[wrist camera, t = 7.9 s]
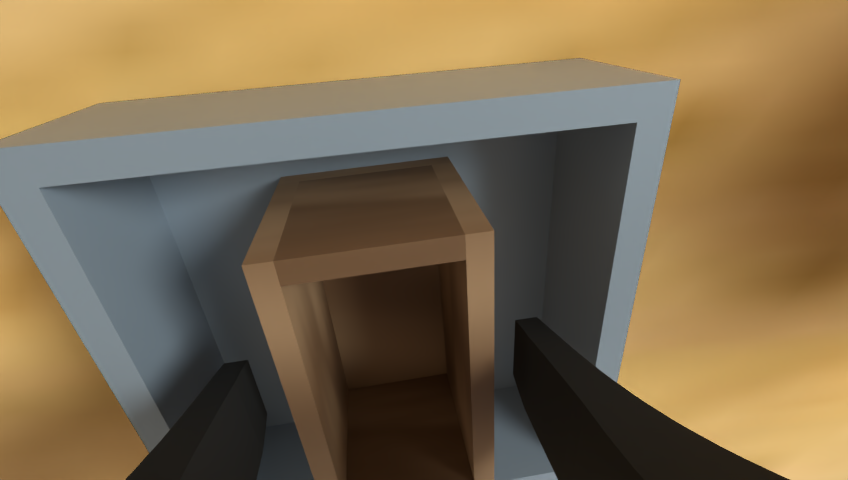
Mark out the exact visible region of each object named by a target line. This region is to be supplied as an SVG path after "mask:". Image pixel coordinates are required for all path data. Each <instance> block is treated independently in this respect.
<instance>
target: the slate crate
mask: <svg viewBox="0 0 848 480" xmlns="http://www.w3.org/2000/svg"><path fill="white" fill-rule="evenodd" d="M679 84H680V79H676V78H671V77H667V76H662V75H657V74H653V73H648V72H643V71H639V70H634V69H629V68H625V67H620V66H615V65H611V64H606V63H601V62H597V61H592V60H587V59H583V58H576V59H565V60H554V61H544V62H533V63H522V64H512V65H501V66H490V67H480V68H469V69H458V70H448V71H437V72H426V73H416V74H405V75H394V76H384V77H373V78H362V79H352V80H341V81H330V82H320V83H309V84H298V85H288V86H277V87H266V88H256V89H245V90H235V91H224V92H213V93H203V94H192V95H181V96H171V97H160V98H149V99H139V100H128V101H117V102H107V103H99V104H96V105H93V106H91V107H88V108H85V109H82V110H80V111H77V112H74V113H71V114H69V115H66V116H63V117H60V118H58V119H55V120H52V121H50V122H47V123H44V124H41V125H39V126H36V127H33V128H30V129H28V130H25V131H22V132H19V133H17V134H14V135H11V136H8V137H6V138H3V139H0V206H1V207H2V209H3V211H4V212H5V214H6V216H7V217H8V219H9V220H10V222H11V224H12V225H13V227H14V229H15V230H16V232H17V234H18V235H19V237H20V239H21V240H22V242H23V244H24V245H25V247H26V249H27V250H28V252H29V254H30V255H31V257H32V259H33V260H34V262H35V264H36V265H37V267H38V269H39V270H40V272H41V274H42V275H43V277H44V279H45V280H46V282H47V284H48V285H49V287H50V289H51V290H52V292H53V294H54V295H55V297H56V299H57V300H58V302H59V304H60V305H61V307H62V309H63V310H64V312H65V314H66V315H67V317H68V319H69V320H70V322H71V324H72V325H73V327H74V329H75V330H76V332H77V334H78V335H79V337H80V339H81V340H82V342H83V344H84V345H85V347H86V349H87V350H88V352H89V353H90V355H91V357H92V358H93V360H94V362H95V363H96V365H97V367H98V368H99V370H100V372H101V373H102V375H103V377H104V378H105V380H106V382H107V383H108V385H109V387H110V388H111V390H112V392H113V393H114V395H115V397H116V398H117V400H118V402H119V403H120V405H121V407H122V408H123V410H124V412H125V413H126V415H127V417H128V418H129V420H130V422H131V423H132V425H133V427H134V428H135V430H136V432H137V433H138V435H139V437H140V438H141V440H142V442H143V443H144V445H145V447H146V448H147V450H148V452H149V453H150V452H151V451H152V450H153V449H154V448H155V446H156V445H157V444H158V443H159V442H160V441H161V440H162V438H163V437H164V436H165V435H166V434H167V433H168V431H169V430H170V429H171V428H172V427H173V425H174V424H175V423H176V422H177V421H178V419H179V418H180V417H181V416H182V415H183V413H184V412H185V411H186V410H187V408H188V407H189V406H190V405H191V403H192V402H193V401H194V400H195V398H196V397H197V396H198V395H199V394H200V392H201V391H202V390H203V388H204V387H205V386H206V385H207V383H208V382H209V381H210V380H211V378H212V377H213V376H214V375H215V374H216V372H217V371H218V370H219V369H220V368H221V366H222V365H223V364H224V363H230V362H237V361H243V360H248V362H249V364H250V367H251V370H252V373H253V375H254V378H255V381H256V384H257V387H258V389H259V392H260V395H261V398H262V400H263V403H264V406H265V409H266V411H267V421H266V430H265V439H264V447H263V454H262V458H261V463H260V467H259V471H258V475H257V479H256V480H314V478H313V475H312V472H311V469H310V466H309V463H308V460H307V457H306V454H305V451H304V448H303V445H302V443H301V440H300V437H299V434H298V431H297V428H296V425H295V422H294V419H293V416H292V413H291V410H290V407H289V404H288V401H287V398H286V396H285V393H284V390H283V387H282V384H281V381H280V378H279V375H278V372H277V369H276V366H275V363H274V360H273V357H272V354H271V351H270V348H269V346H268V343H267V340H266V337H265V334H264V331H263V328H262V325H261V322H260V319H259V316H258V313H257V310H256V307H255V304H254V301H253V298H252V296H251V293H250V290H249V287H248V284H247V281H246V278H245V275H244V272H243V269H242V266H241V265H242V263H243V261H244V259H245V256H246V254H247V252H248V250H249V247H250V245H251V243H252V241H253V239H254V236H255V234H256V232H257V230H258V227H259V225H260V223H261V221H262V218H263V216H264V214H265V212H266V209H267V207H268V205H269V203H270V200H271V198H272V196H273V194H274V191H275V189H276V187H277V185H278V182H279V180H280V178H281V177H284V176H293V175H301V174H309V173H317V172H325V171H333V170H342V169H350V168H358V167H366V166H374V165H382V164H391V163H399V162H407V161H415V160H423V159H431V158H440V157H448V158H449V159H450V161H451V162H452V164H453V166H454V167H455V169H456V170H457V172H458V174H459V175H460V177H461V178H462V180H463V182H464V183H465V185H466V186H467V188H468V190H469V191H470V193H471V194H472V196H473V197H474V199H475V201H476V202H477V204H478V205H479V207H480V209H481V210H482V212H483V213H484V215H485V217H486V218H487V220H488V221H489V223H490V224H491V226H492V228H493V229H494V480H558V479H557V477H556V475H555V473H554V471H553V468H552V466H551V464H550V462H549V460H548V458H547V456H546V454H545V451H544V449H543V447H542V445H541V443H540V441H539V439H538V437H537V435H536V432H535V430H534V428H533V426H532V424H531V422H530V420H529V417H528V415H527V413H526V411H525V409H524V406H523V403H522V400H521V397H520V394H519V391H518V388H517V385H516V382H515V379H514V376H513V361H514V338H515V320H519V319H526V318H532V317H537V318H539V319H540V320H541V321H542V322H543V323H545V324H546V325H547V326H548V327H549V328H550V329H551V330H553V331H554V332H555V333H556V334H557V335H558V336H559V337H561V338H562V339H563V340H564V341H565V342H566V343H568V344H569V345H570V346H571V347H572V348H573V349H575V350H576V351H577V352H578V353H579V354H581V355H582V356H583V357H584V358H586V359H587V360H588V361H589V362H591V363H592V364H593V365H594V366H596V367H597V368H598V369H599V370H601V371H602V372H603V373H604V374H606V375H607V376H608V377H610V378H611V379H612V380H614V381H615V382H616V383H617V380H618V375H619V370H620V366H621V361H622V356H623V351H624V347H625V342H626V337H627V332H628V327H629V323H630V318H631V313H632V308H633V304H634V299H635V294H636V289H637V285H638V280H639V275H640V270H641V265H642V261H643V256H644V251H645V246H646V242H647V237H648V232H649V227H650V223H651V218H652V213H653V208H654V203H655V199H656V194H657V189H658V184H659V180H660V175H661V170H662V165H663V161H664V156H665V151H666V146H667V141H668V137H669V132H670V127H671V122H672V118H673V113H674V108H675V103H676V98H677V94H678V89H679Z"/></svg>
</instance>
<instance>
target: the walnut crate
mask: <svg viewBox="0 0 848 480" xmlns="http://www.w3.org/2000/svg"><path fill="white" fill-rule="evenodd" d="M241 266H242V269H243V272H244V275H245V278H246V281H247V284H248V287H249V290H250V293H251V296H252V298H253V301H254V304H255V307H256V310H257V313H258V316H259V319H260V322H261V325H262V328H263V331H264V334H265V337H266V340H267V343H268V346H269V348H270V351H271V354H272V357H273V360H274V363H275V366H276V369H277V372H278V375H279V378H280V381H281V384H282V387H283V390H284V393H285V396H286V398H287V401H288V404H289V407H290V410H291V413H292V416H293V419H294V422H295V425H296V428H297V431H298V434H299V437H300V440H301V443H302V445H303V448H304V451H305V454H306V457H307V460H308V463H309V466H310V469H311V472H312V475H313V478H314V480H494V229H493V228H492V226H491V224H490V223H489V221H488V220H487V218H486V217H485V215H484V213H483V212H482V210H481V209H480V207H479V205H478V204H477V202H476V201H475V199H474V197H473V196H472V194H471V193H470V191H469V190H468V188H467V186H466V185H465V183H464V182H463V180H462V178H461V177H460V175H459V174H458V172H457V170H456V169H455V167H454V166H453V164H452V162H451V161H450V159H449V158H448V157H440V158H431V159H423V160H415V161H407V162H399V163H391V164H382V165H374V166H366V167H358V168H350V169H342V170H333V171H325V172H317V173H309V174H301V175H293V176H284V177H281V178H280V180H279V182H278V185H277V187H276V189H275V191H274V194H273V196H272V198H271V200H270V203H269V205H268V207H267V209H266V212H265V214H264V216H263V218H262V221H261V223H260V225H259V227H258V230H257V232H256V234H255V236H254V239H253V241H252V243H251V245H250V247H249V250H248V252H247V254H246V256H245V259H244V261H243V263H242V265H241Z"/></svg>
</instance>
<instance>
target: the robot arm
mask: <svg viewBox="0 0 848 480" xmlns="http://www.w3.org/2000/svg"><path fill="white" fill-rule="evenodd" d="M513 376H514V379H515V382H516V385H517V388H518V391H519V394H520V397H521V400H522V403H523V406H524V409H525V411H526V413H527V415H528V417H529V420H530V422H531V424H532V426H533V428H534V430H535V432H536V435H537V437H538V439H539V441H540V443H541V445H542V447H543V449H544V451H545V454H546V456H547V458H548V460H549V462H550V464H551V466H552V468H553V471H554V473H555V475H556V477H557V479H558V480H789V479H787V478H785V477H782V476H780V475H778V474H776V473H774V472H772V471H770V470H767V469H765V468H763V467H761V466H759V465H757V464H755V463H753V462H750V461H748V460H746V459H744V458H742V457H740V456H738V455H736V454H734V453H732V452H730V451H728V450H726V449H724V448H722V447H720V446H718V445H717V444H715V443H713V442H711V441H709V440H708V439H706V438H704V437H702V436H700V435H698V434H697V433H695V432H693V431H691V430H689V429H687V428H686V427H684V426H682V425H681V424H679V423H677V422H675V421H674V420H672V419H670V418H669V417H667V416H666V415H664V414H663V413H661V412H659V411H658V410H656V409H655V408H653V407H651V406H650V405H648V404H647V403H645V402H644V401H642V400H641V399H639V398H638V397H636V396H635V395H633V394H632V393H630V392H629V391H628V390H626V389H625V388H623V387H622V386H621V385H619V384H618V383H616V382H615V381H614V380H612V379H611V378H610V377H608V376H607V375H606V374H604V373H603V372H602V371H601V370H599V369H598V368H597V367H596V366H594V365H593V364H592V363H591V362H589V361H588V360H587V359H586V358H584V357H583V356H582V355H581V354H579V353H578V352H577V351H576V350H575V349H573V348H572V347H571V346H570V345H569V344H568V343H566V342H565V341H564V340H563V339H562V338H561V337H559V336H558V335H557V334H556V333H555V332H554V331H553V330H551V329H550V328H549V327H548V326H547V325H546V324H545V323H543V322H542V321H541V320H540V319H539V318H537V317H532V318H526V319H519V320H515V338H514V361H513ZM266 421H267V411H266V409H265V406H264V403H263V400H262V398H261V395H260V392H259V389H258V387H257V384H256V381H255V378H254V375H253V373H252V370H251V367H250V364H249V362H248V360H243V361H237V362H230V363H224V364H223V365H222V366H221V368H220V369H219V370H218V371H217V372H216V374H215V375H214V376H213V377H212V378H211V380H210V381H209V382H208V383H207V385H206V386H205V387H204V388H203V390H202V391H201V392H200V394H199V395H198V396H197V397H196V398H195V400H194V401H193V402H192V403H191V405H190V406H189V407H188V408H187V410H186V411H185V412H184V413H183V415H182V416H181V417H180V418H179V419H178V421H177V422H176V423H175V424H174V425H173V427H172V428H171V429H170V430H169V431H168V433H167V434H166V435H165V436H164V437H163V438H162V440H161V441H160V442H159V443H158V444H157V445H156V446H155V448H154V449H153V450H152V451H151V452H150V453H149V454H148V455H147V456H146V458H145V459H144V460H143V461H142V462H141V463H140V464H139V465H138V467H137V468H136V469H135V470H134V471H133V472H132V473H131V474H130V475H129V476H128V477H127V478H126V480H256V479H257V475H258V471H259V467H260V463H261V458H262V454H263V447H264V439H265V430H266Z"/></svg>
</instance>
